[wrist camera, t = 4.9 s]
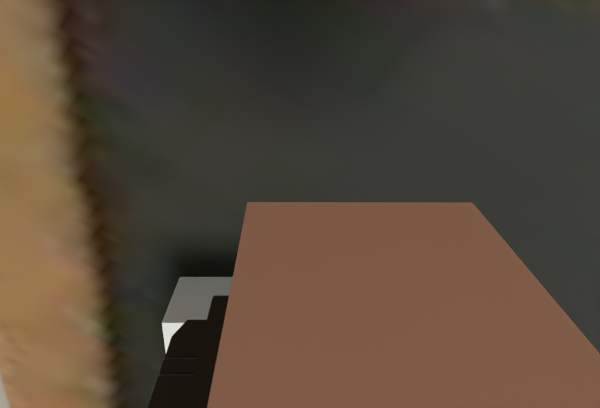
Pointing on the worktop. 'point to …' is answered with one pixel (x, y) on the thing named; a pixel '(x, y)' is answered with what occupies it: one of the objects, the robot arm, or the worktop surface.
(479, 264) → the terracotta block
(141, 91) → the worktop surface
